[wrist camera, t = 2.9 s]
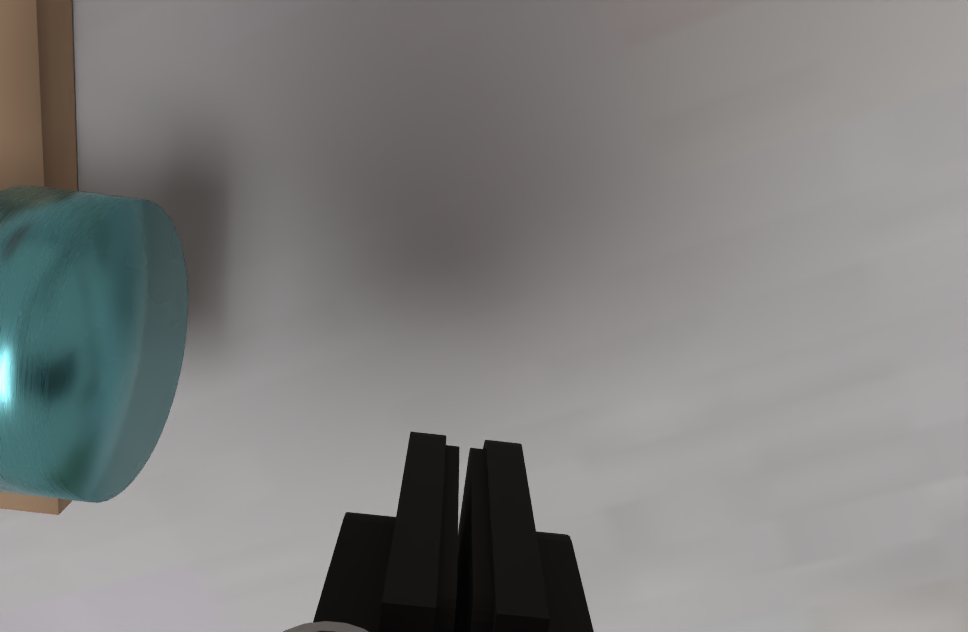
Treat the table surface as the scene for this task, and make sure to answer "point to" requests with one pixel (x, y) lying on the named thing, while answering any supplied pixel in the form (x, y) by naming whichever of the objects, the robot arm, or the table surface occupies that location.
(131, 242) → the shaft
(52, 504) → the shaft bracket
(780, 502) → the table surface
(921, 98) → the table surface
